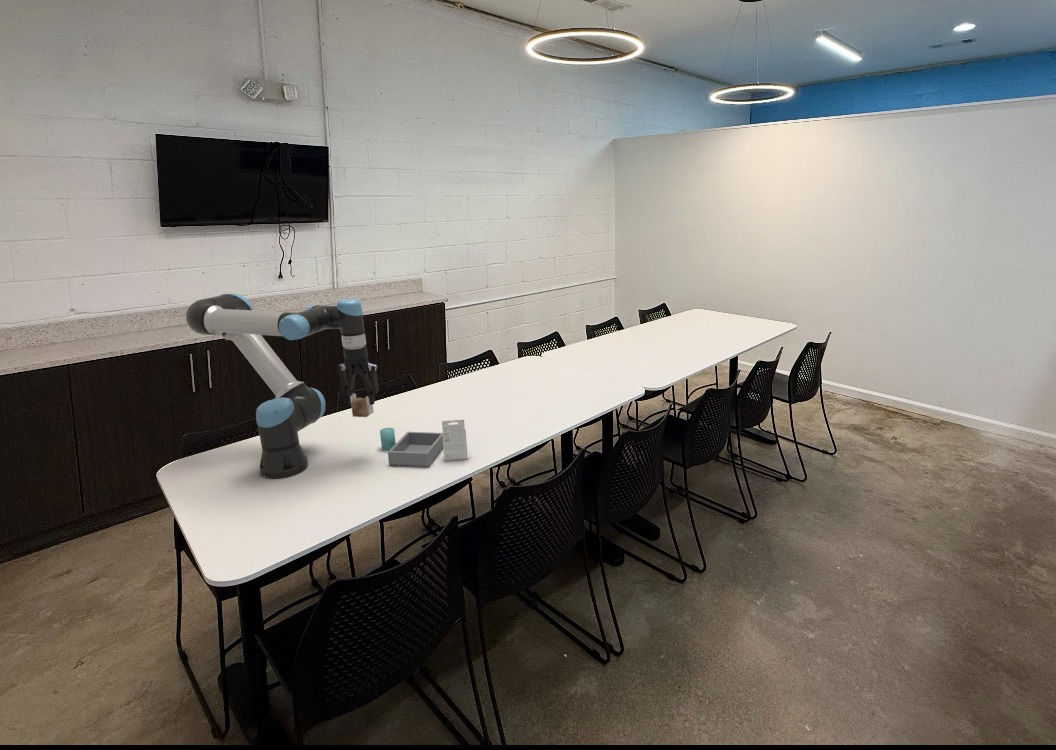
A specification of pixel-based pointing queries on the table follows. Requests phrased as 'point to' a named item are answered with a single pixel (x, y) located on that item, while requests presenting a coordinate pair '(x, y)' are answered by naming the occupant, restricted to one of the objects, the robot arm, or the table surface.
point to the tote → (416, 449)
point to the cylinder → (387, 438)
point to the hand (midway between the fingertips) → (363, 413)
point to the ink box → (454, 440)
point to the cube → (359, 407)
